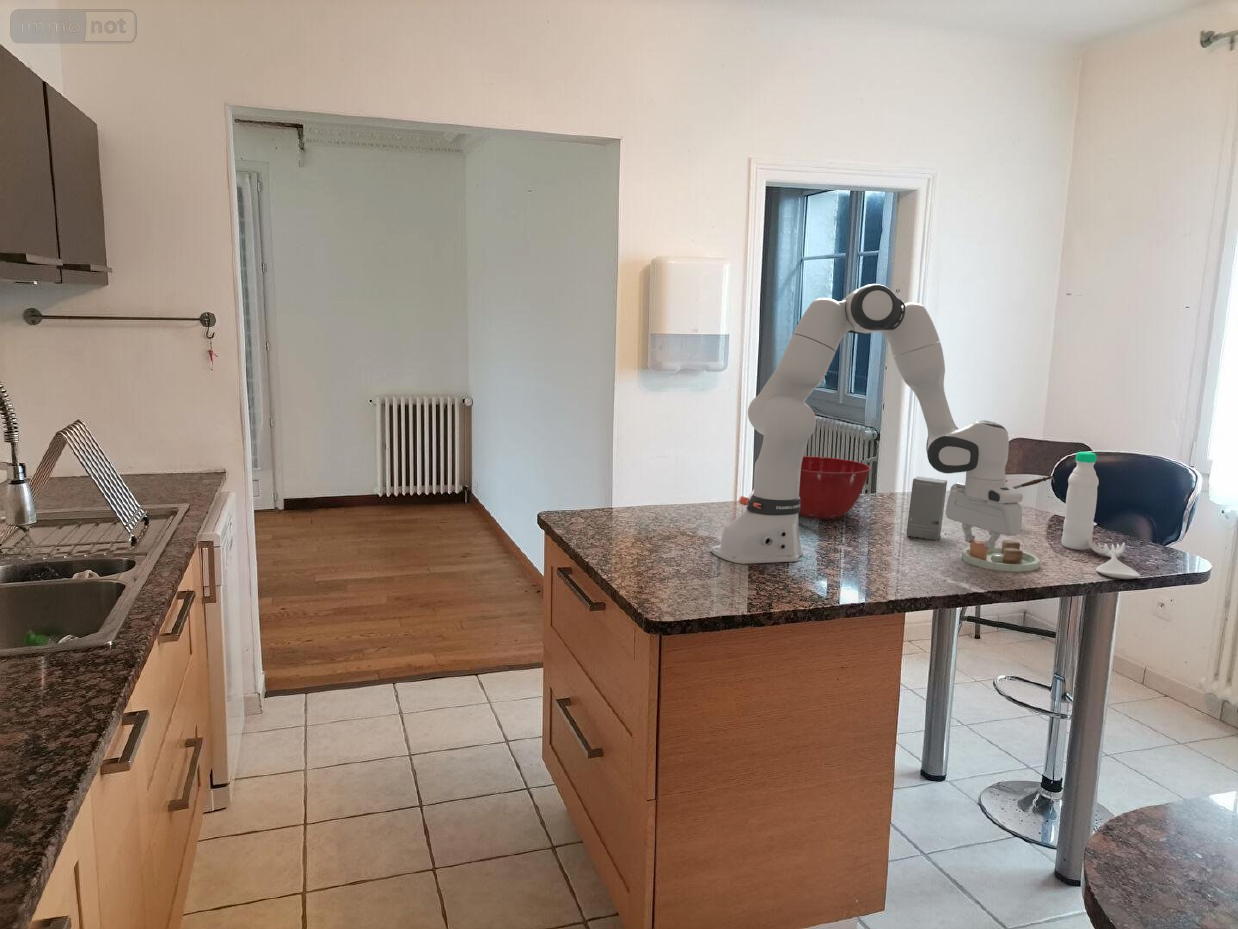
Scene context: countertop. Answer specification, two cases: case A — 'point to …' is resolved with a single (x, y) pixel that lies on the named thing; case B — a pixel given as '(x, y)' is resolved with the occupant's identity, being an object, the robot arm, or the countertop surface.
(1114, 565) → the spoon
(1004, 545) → the seated bead
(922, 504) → the skincare box
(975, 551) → the loose bead
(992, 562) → the groove tray
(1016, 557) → the seated bead
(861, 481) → the mixing bowl
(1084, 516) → the milk bottle
